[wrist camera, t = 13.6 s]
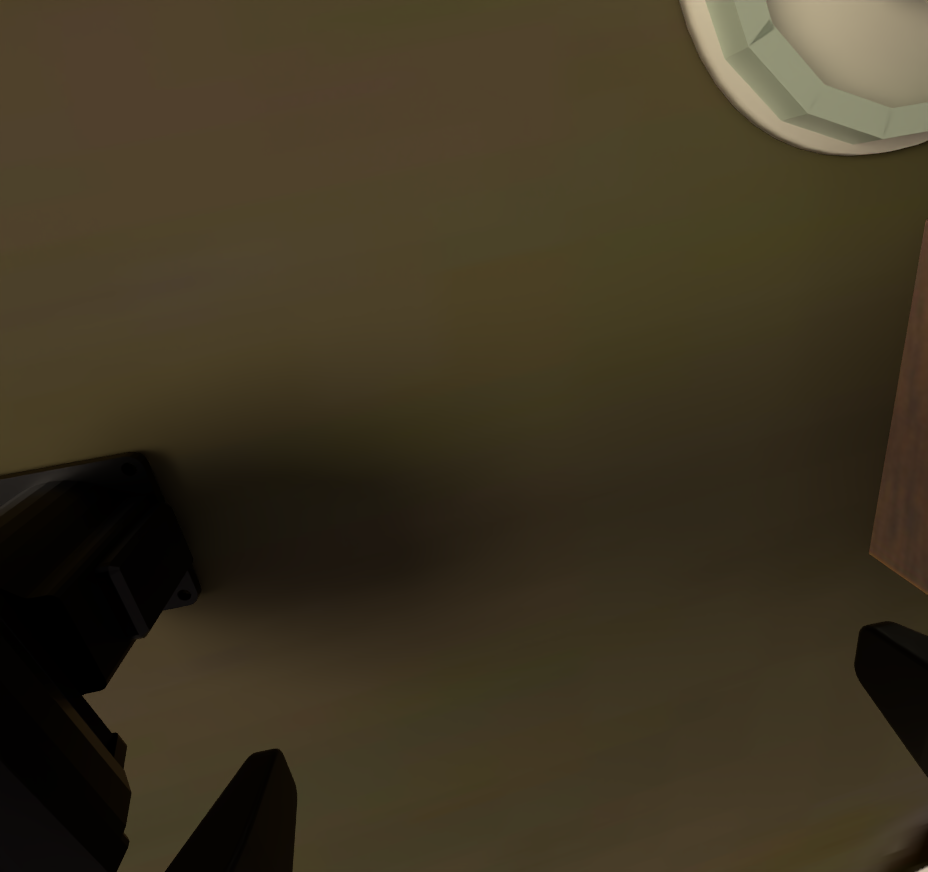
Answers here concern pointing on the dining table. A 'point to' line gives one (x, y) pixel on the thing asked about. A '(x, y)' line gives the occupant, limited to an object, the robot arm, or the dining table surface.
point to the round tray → (820, 69)
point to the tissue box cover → (908, 452)
